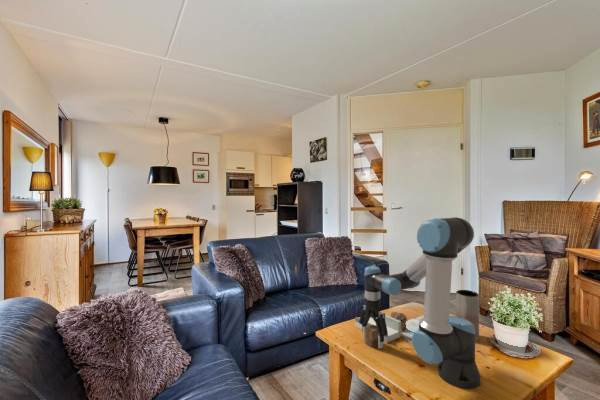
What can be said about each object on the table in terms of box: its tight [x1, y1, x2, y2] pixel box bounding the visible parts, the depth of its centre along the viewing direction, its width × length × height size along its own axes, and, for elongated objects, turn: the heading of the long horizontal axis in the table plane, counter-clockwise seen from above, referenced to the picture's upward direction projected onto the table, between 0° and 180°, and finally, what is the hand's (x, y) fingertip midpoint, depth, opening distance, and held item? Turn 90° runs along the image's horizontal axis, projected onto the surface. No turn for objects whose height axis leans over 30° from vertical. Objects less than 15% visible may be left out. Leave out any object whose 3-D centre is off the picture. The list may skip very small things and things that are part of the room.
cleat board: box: [354, 314, 402, 344], centre depth 155 cm, size 22×12×8 cm, turn 32°
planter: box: [455, 289, 480, 342], centre depth 147 cm, size 10×10×23 cm
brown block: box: [364, 325, 379, 349], centre depth 141 cm, size 5×7×8 cm
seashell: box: [389, 311, 408, 331], centre depth 160 cm, size 10×9×10 cm
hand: (373, 343), depth 142 cm, fingers open, 9 cm apart
